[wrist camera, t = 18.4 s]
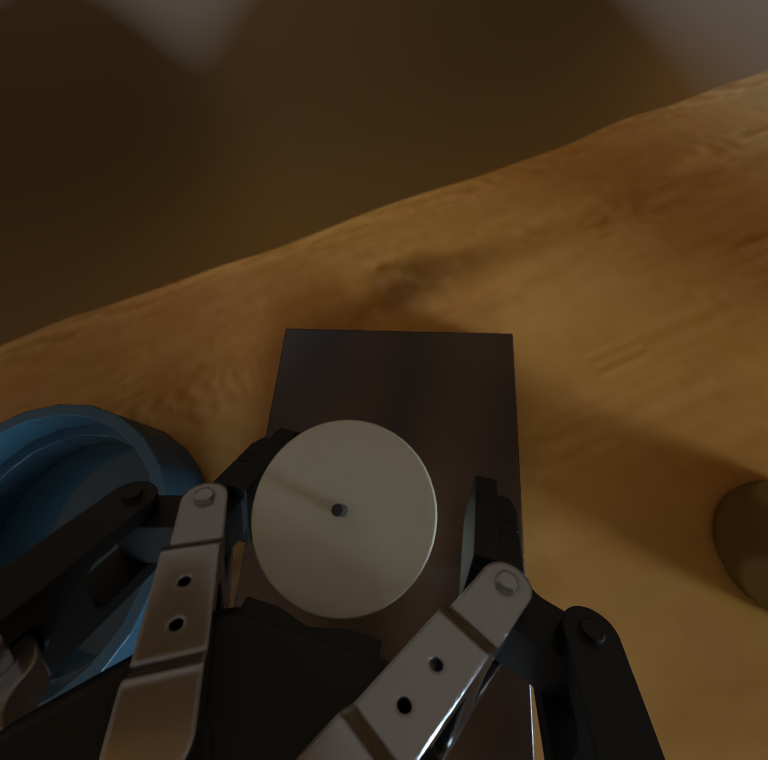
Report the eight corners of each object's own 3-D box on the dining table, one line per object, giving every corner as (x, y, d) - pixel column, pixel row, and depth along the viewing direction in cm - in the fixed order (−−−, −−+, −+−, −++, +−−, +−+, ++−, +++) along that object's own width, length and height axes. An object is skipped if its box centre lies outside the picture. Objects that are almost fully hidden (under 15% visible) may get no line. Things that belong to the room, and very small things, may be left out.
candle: (430, 468, 18) (440, 417, 10) (427, 577, 17) (435, 639, 8) (335, 462, 19) (260, 409, 10) (322, 567, 17) (219, 614, 8)
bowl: (237, 429, 22) (199, 410, 18) (176, 713, 17) (108, 767, 13) (34, 418, 23) (-40, 398, 19) (-74, 677, 19) (-197, 716, 15)
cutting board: (507, 345, 22) (512, 333, 21) (527, 793, 15) (538, 821, 14) (293, 339, 24) (285, 327, 22) (221, 747, 17) (203, 767, 15)
